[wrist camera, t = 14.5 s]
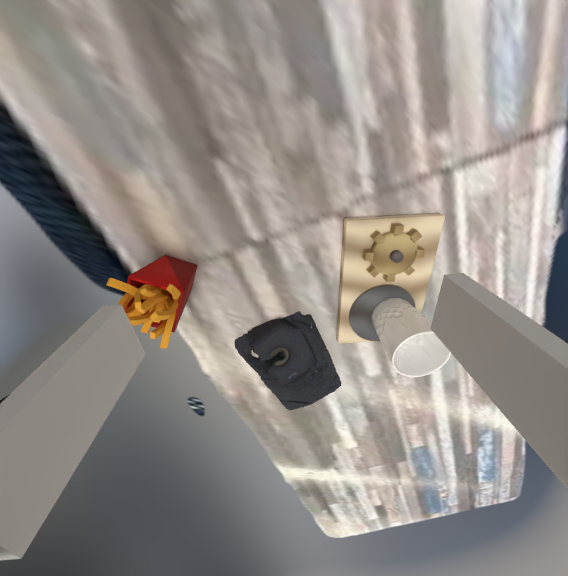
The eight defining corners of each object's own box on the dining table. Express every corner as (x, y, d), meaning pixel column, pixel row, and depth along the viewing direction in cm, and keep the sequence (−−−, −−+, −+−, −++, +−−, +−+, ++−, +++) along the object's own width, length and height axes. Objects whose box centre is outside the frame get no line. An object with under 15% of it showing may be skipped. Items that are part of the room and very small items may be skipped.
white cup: (376, 290, 40) (405, 328, 32) (422, 297, 41) (463, 335, 32) (361, 330, 44) (383, 374, 35) (404, 335, 45) (436, 379, 36)
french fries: (195, 297, 42) (160, 362, 29) (144, 282, 41) (80, 343, 27) (207, 249, 38) (173, 298, 25) (151, 230, 37) (82, 272, 24)
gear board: (344, 218, 37) (351, 224, 34) (439, 213, 37) (456, 219, 34) (336, 338, 47) (341, 353, 44) (411, 333, 47) (422, 348, 44)
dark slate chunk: (279, 406, 56) (279, 426, 52) (229, 334, 47) (225, 352, 42) (345, 384, 54) (351, 403, 49) (307, 303, 44) (310, 319, 40)
